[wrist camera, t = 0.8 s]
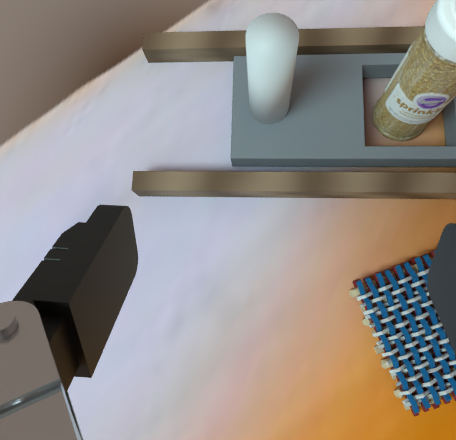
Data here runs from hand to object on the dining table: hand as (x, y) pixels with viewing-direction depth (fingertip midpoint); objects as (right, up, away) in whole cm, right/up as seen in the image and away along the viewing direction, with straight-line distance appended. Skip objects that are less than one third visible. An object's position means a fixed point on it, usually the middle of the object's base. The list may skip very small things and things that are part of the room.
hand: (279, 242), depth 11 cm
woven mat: (+15, -8, +21) cm, 27 cm away
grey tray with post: (+10, +9, +24) cm, 28 cm away
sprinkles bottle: (+13, +9, +24) cm, 29 cm away
